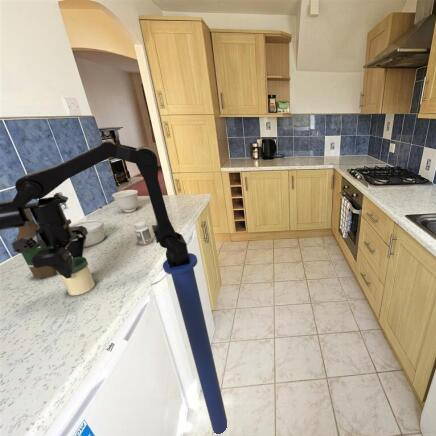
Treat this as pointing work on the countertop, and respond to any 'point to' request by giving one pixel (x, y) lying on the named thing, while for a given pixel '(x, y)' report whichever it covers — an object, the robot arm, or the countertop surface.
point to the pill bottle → (142, 233)
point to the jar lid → (77, 264)
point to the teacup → (127, 200)
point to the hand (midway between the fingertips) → (74, 270)
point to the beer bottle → (34, 252)
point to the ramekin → (92, 231)
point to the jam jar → (79, 282)
